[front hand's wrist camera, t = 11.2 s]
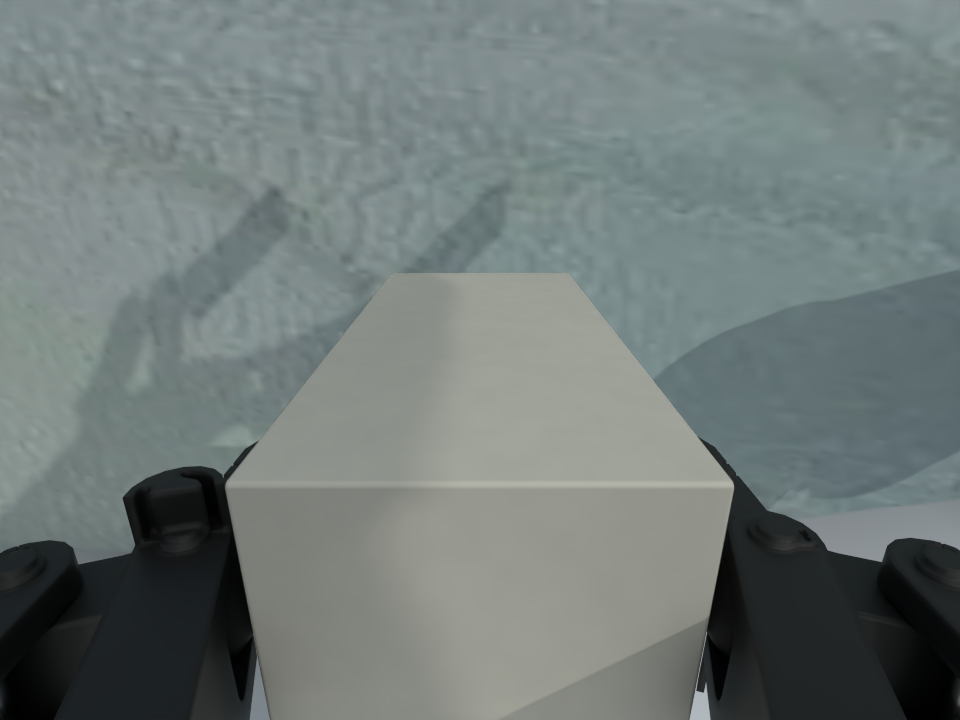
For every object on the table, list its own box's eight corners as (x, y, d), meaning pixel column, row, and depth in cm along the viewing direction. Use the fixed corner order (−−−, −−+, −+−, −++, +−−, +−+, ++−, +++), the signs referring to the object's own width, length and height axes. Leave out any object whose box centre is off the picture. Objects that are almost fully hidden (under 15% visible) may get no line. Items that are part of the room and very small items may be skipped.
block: (559, 431, 18) (673, 815, 8) (400, 431, 19) (286, 815, 8) (568, 272, 17) (738, 483, 6) (391, 272, 17) (221, 483, 6)
